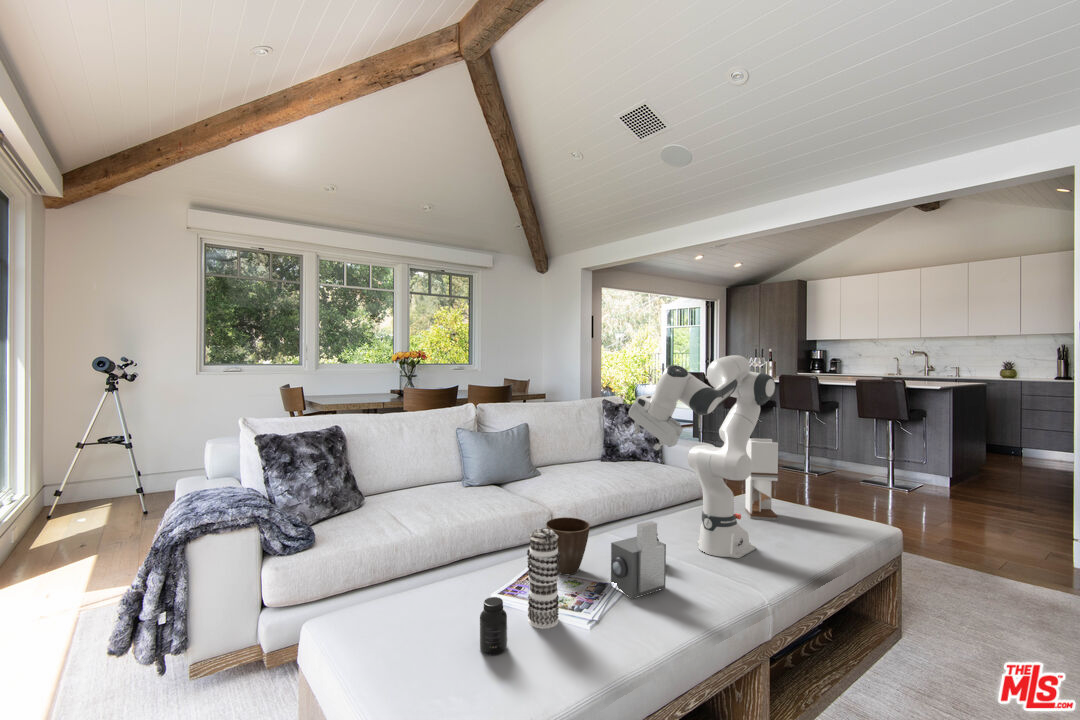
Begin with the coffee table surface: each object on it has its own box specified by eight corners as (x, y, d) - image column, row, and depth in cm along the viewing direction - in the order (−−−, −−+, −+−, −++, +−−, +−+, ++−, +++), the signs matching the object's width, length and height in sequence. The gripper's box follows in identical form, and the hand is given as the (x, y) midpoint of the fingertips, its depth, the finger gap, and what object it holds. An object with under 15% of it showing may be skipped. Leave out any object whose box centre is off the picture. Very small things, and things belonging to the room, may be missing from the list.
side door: (660, 583, 164) (660, 518, 164) (665, 585, 162) (666, 521, 162) (636, 590, 158) (637, 524, 158) (641, 593, 156) (642, 526, 156)
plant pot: (595, 566, 181) (595, 521, 181) (580, 583, 168) (580, 534, 167) (556, 559, 187) (556, 515, 187) (538, 575, 174) (538, 527, 174)
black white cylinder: (549, 633, 137) (549, 539, 137) (520, 623, 142) (520, 532, 142) (565, 618, 145) (566, 529, 145) (537, 609, 150) (538, 523, 150)
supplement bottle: (480, 641, 133) (480, 595, 133) (506, 640, 134) (507, 594, 134) (479, 657, 126) (479, 608, 126) (507, 655, 127) (507, 607, 127)
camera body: (643, 576, 173) (643, 534, 173) (665, 588, 164) (666, 544, 164) (605, 587, 165) (606, 543, 164) (627, 600, 156) (627, 554, 156)
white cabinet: (750, 518, 236) (751, 442, 235) (745, 511, 246) (746, 438, 246) (777, 520, 234) (778, 442, 234) (770, 513, 244) (771, 439, 244)
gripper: (689, 424, 174) (673, 456, 180) (644, 392, 187) (630, 422, 193) (678, 428, 170) (663, 461, 176) (633, 394, 182) (620, 426, 188)
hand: (646, 440), depth 184 cm, fingers open, 8 cm apart
